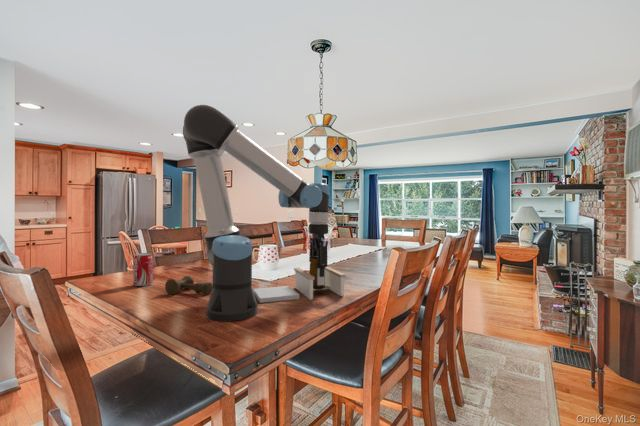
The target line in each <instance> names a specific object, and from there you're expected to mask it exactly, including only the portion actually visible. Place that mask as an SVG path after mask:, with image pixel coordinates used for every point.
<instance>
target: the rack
mask: <svg viewBox="0 0 640 426" xmlns="http://www.w3.org/2000/svg"><path fill="white" fill-rule="evenodd" d="M293 271H294V273H295V275H294V278H295V279H294V284H295V285H294V288H295V289H296V290H297V291H299V292H300V293H301V294H302V295H303V296H305V298H308V300H313V299H314V289H313V280H315V277H314V276H312V275H310V272H307V271H306V270H303V269H302V268H300V267H294V268H293ZM345 278H346V274H345V273H343V272H342V271H339V270H336V269H334V268H332V267H330V266H329V265H327V267H325V286H328V287H332V288H330V289H329V290H330V291H332V292H333V293H335V294H336V295H339V296H341V297H344V296H345Z"/></svg>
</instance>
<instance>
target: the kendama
mask: <svg viewBox="0 0 640 426" xmlns="http://www.w3.org/2000/svg"><path fill="white" fill-rule="evenodd" d="M164 287H165V289H164V290H165V293H167V294H168V295H171V296H175V295H176V294H177V293H179V291H180V290H187V291H188V290H189V291H190V290H192V291H194V293H196V294H200V293H201V294H203V296H205V297H206V296H209V295H211V293H212V290H213V282H211V281H207V282H205V283H204V282H203V281H198V282H196V283H194V279H193V277H192V276H190V275H185V276H183V277H182V278H181V279H180V280H176V279H173V278H170V279H167V280H166V282H165V285H164Z"/></svg>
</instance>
